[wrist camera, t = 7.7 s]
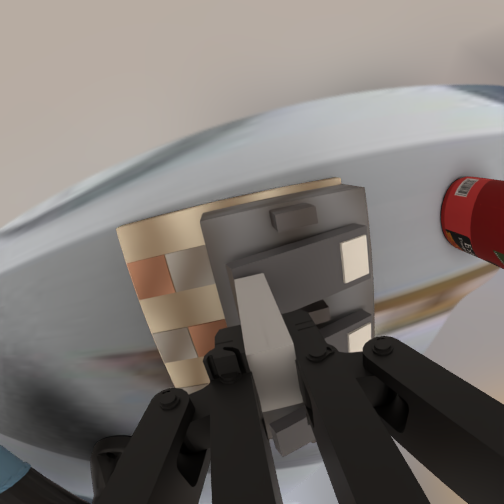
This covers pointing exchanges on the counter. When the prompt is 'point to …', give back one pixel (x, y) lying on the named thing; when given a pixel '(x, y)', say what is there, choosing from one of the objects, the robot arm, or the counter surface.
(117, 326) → the counter surface
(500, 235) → the canned food
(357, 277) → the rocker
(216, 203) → the switch unit
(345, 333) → the rocker middle
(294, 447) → the rocker
